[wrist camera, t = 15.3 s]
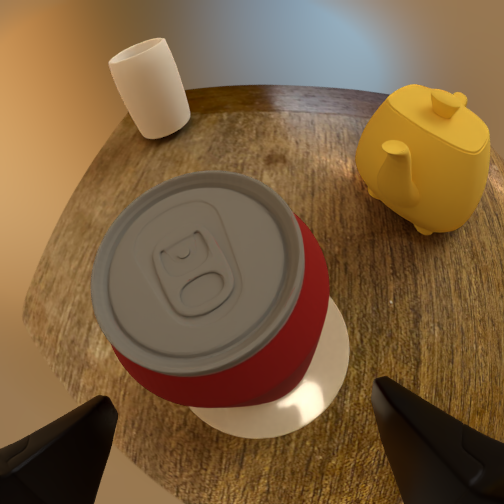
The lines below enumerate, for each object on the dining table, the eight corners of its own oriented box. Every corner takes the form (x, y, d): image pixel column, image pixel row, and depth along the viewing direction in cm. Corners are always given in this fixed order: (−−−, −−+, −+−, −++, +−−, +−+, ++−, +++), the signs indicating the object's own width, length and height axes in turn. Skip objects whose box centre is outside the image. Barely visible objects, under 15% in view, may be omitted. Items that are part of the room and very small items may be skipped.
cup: (181, 145, 36) (145, 55, 24) (133, 148, 38) (93, 71, 26) (202, 111, 40) (177, 31, 28) (157, 115, 42) (128, 45, 30)
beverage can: (275, 281, 19) (244, 125, 8) (333, 367, 15) (402, 294, 5) (185, 331, 18) (61, 228, 8) (233, 423, 14) (114, 452, 4)
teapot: (304, 212, 27) (301, 100, 17) (401, 131, 32) (416, 50, 21) (414, 302, 21) (488, 215, 10) (483, 186, 26) (520, 110, 15)
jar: (228, 451, 18) (209, 463, 13) (176, 327, 23) (149, 308, 19) (363, 386, 19) (382, 381, 14) (295, 270, 24) (294, 239, 20)
